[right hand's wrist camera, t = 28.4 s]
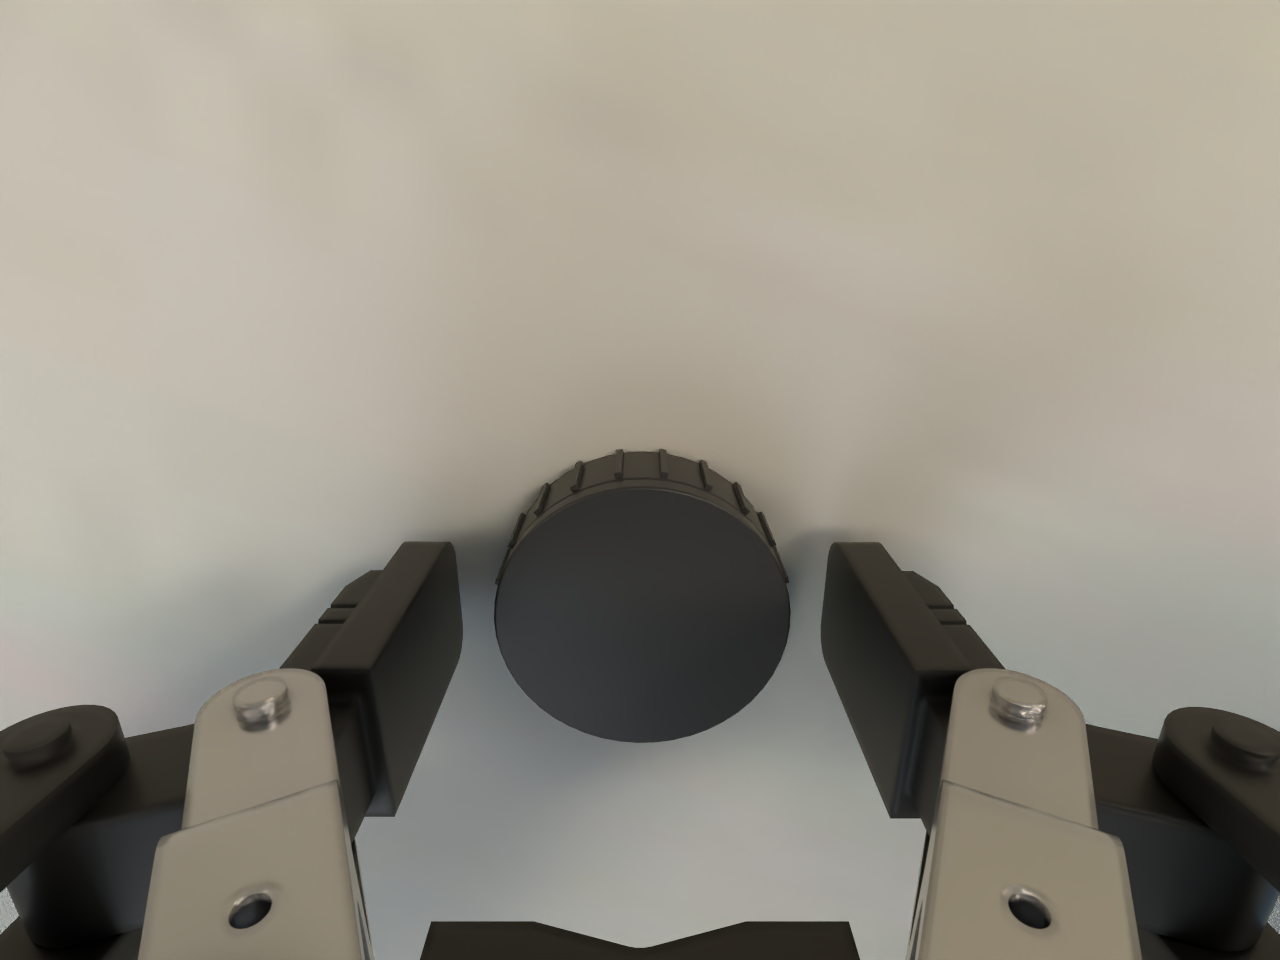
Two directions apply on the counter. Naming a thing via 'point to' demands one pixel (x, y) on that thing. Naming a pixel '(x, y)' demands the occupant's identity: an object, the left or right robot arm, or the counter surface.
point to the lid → (642, 599)
